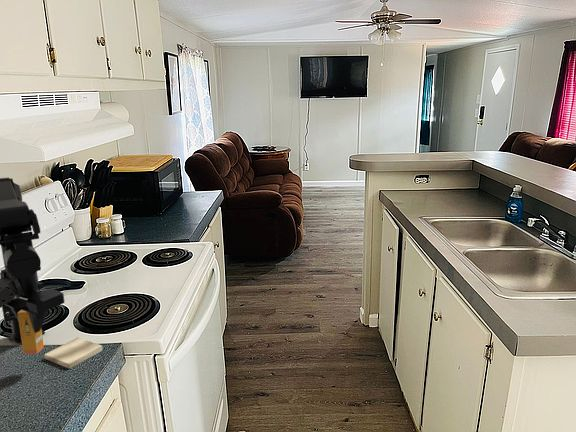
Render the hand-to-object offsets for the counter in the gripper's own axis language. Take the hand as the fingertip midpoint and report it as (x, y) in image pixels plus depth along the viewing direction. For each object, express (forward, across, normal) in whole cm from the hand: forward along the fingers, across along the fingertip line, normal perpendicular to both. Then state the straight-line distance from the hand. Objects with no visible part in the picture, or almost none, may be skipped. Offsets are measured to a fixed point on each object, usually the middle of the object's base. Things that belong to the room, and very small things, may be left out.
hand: (31, 329), depth 99 cm
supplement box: (+5, 0, 0) cm, 5 cm away
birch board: (+10, +2, +8) cm, 13 cm away
